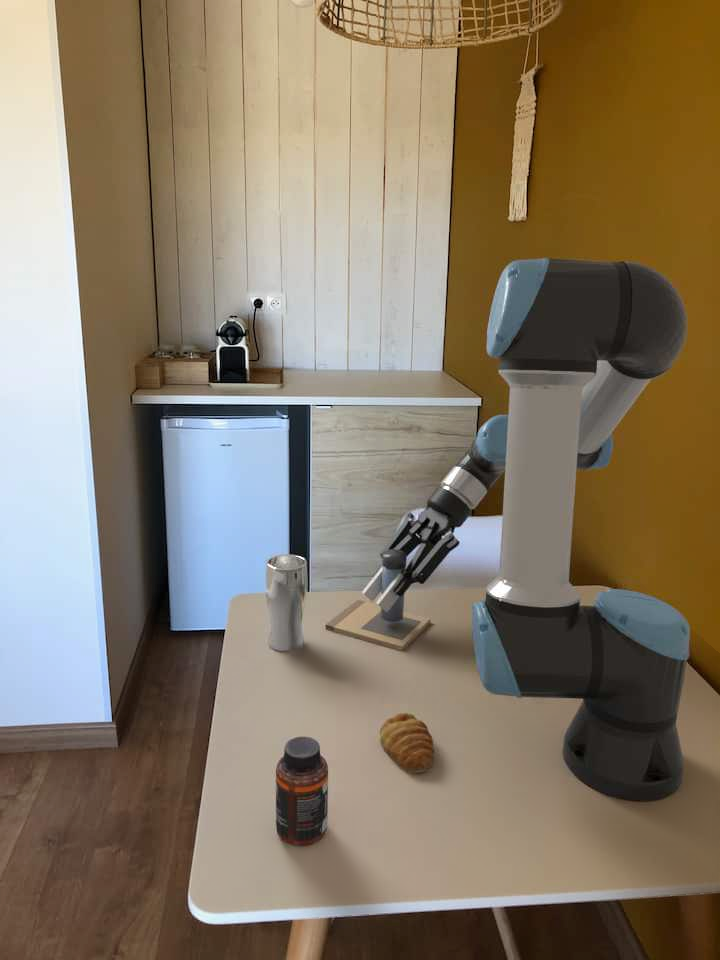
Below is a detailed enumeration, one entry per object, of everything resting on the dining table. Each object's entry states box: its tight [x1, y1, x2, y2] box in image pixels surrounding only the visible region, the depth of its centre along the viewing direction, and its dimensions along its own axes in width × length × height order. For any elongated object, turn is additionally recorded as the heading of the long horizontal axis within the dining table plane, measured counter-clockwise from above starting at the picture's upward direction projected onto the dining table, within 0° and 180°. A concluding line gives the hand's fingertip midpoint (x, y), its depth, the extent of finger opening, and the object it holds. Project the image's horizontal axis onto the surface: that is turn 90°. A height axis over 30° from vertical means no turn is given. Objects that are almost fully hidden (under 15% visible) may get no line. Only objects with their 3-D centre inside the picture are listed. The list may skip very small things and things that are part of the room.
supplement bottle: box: [275, 736, 329, 847], centre depth 88 cm, size 6×6×11 cm
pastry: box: [379, 712, 435, 774], centre depth 104 cm, size 9×7×4 cm
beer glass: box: [265, 553, 309, 653], centre depth 130 cm, size 7×7×15 cm
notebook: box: [325, 599, 431, 651], centre depth 139 cm, size 12×15×1 cm
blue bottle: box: [380, 549, 408, 622], centre depth 136 cm, size 4×4×12 cm
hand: (374, 602), depth 134 cm, fingers closed on blue bottle, 4 cm apart
